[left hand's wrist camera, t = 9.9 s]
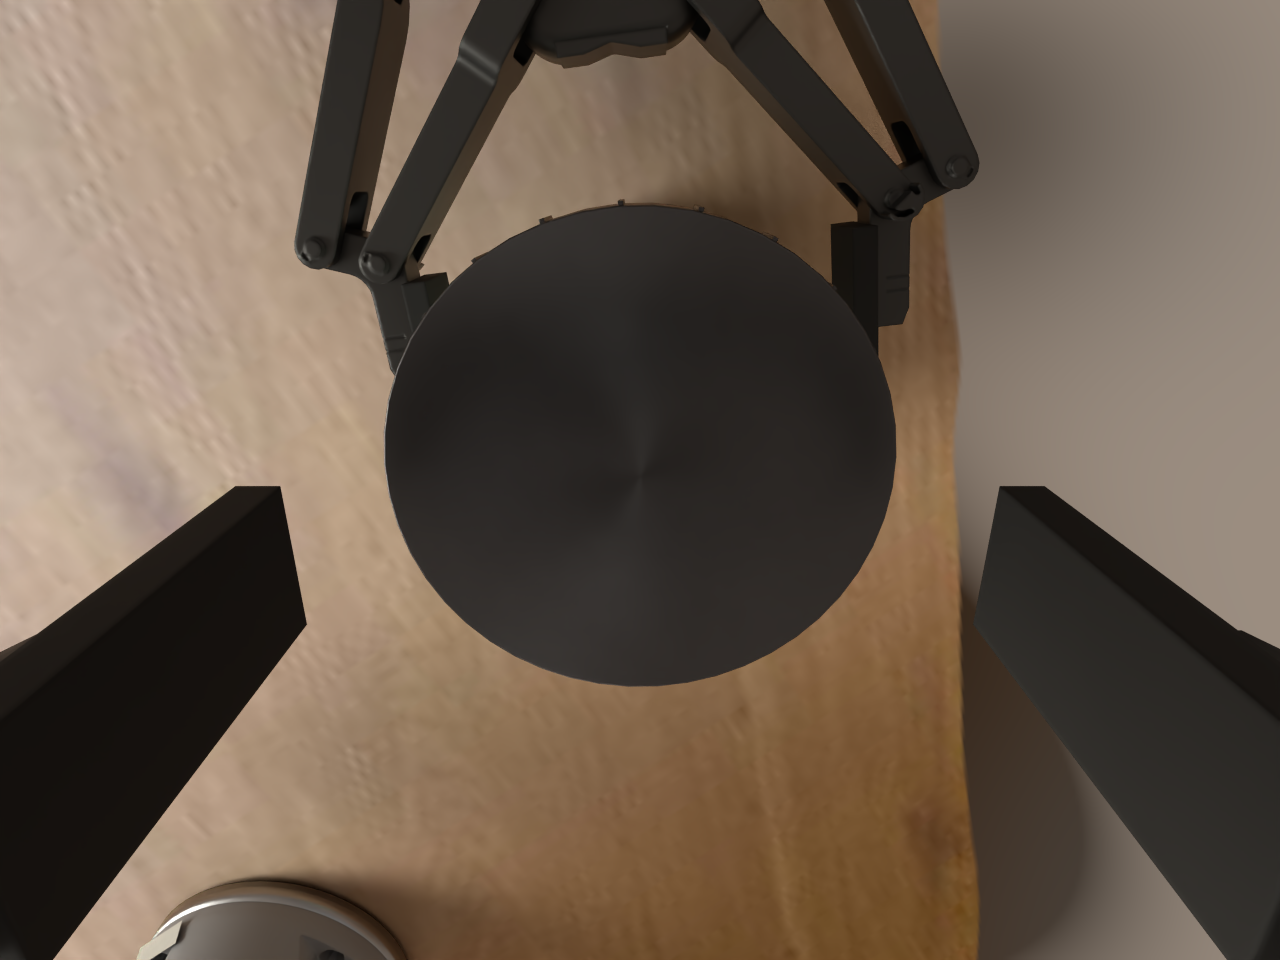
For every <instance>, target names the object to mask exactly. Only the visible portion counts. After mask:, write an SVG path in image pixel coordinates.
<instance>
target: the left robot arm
mask: <svg viewBox="0 0 1280 960" xmlns="http://www.w3.org/2000/svg"><path fill="white" fill-rule="evenodd" d="M306 625H307V623H306V617H305V612H304V607H303V602H302V597H301V591H300V586H299V581H298V576H297V571H296V565H295V560H294V555H293V550H292V545H291V540H290V534H289V529H288V524H287V519H286V514H285V508H284V503H283V498H282V493H281V488H280V486H235V487H234V488H232V489H231V490H230V491H228V492H227V493H226V494H224V495H223V496H222V497H220V498H219V499H218V500H216V501H215V502H214V503H212V504H211V505H210V506H208V507H207V508H206V509H204V510H203V511H202V512H200V513H199V514H198V515H196V516H195V517H194V518H192V519H191V520H190V521H188V522H187V523H186V524H184V525H183V526H182V527H180V528H179V529H177V530H176V531H175V532H173V533H172V534H171V535H169V536H168V537H167V538H165V539H164V540H163V541H161V542H160V543H159V544H157V545H156V546H155V547H153V548H152V549H151V550H149V551H148V552H147V553H145V554H144V555H143V556H141V557H140V558H139V559H137V560H136V561H135V562H133V563H132V564H131V565H129V566H128V567H127V568H125V569H124V570H123V571H121V572H120V573H119V574H117V575H116V576H114V577H113V578H112V579H110V580H109V581H108V582H106V583H105V584H104V585H102V586H101V587H100V588H98V589H97V590H96V591H94V592H93V593H92V594H90V595H89V596H88V597H86V598H85V599H84V600H82V601H81V602H80V603H78V604H77V605H76V606H74V607H73V608H72V609H70V610H69V611H68V612H66V613H65V614H64V615H62V616H61V617H60V618H58V619H57V620H56V621H54V622H53V623H51V624H50V625H49V626H47V627H46V628H45V629H43V630H42V631H41V632H39V633H38V634H36V635H34V636H32V637H30V638H28V639H26V640H24V641H22V642H20V643H18V644H16V645H14V646H12V647H10V648H8V649H6V650H4V651H2V652H0V960H53V959H54V958H55V956H56V955H57V954H58V952H59V951H60V950H61V948H62V947H63V946H64V944H65V943H66V942H67V941H68V939H69V938H70V937H71V935H72V934H73V933H74V931H75V930H76V929H77V927H78V926H79V925H80V923H81V922H82V921H83V919H84V918H85V917H86V915H87V914H88V913H89V911H90V910H91V909H92V907H93V906H94V905H95V904H96V902H97V901H98V900H99V898H100V897H101V896H102V894H103V893H104V892H105V890H106V889H107V888H108V886H109V885H110V884H111V882H112V881H113V880H114V878H115V877H116V876H117V874H118V873H119V872H120V871H121V869H122V868H123V867H124V865H125V864H126V863H127V861H128V860H129V859H130V857H131V856H132V855H133V853H134V852H135V851H136V849H137V848H138V847H139V845H140V844H141V843H142V841H143V840H144V839H145V838H146V836H147V835H148V834H149V832H150V831H151V830H152V828H153V827H154V826H155V824H156V823H157V822H158V820H159V819H160V818H161V816H162V815H163V814H164V812H165V811H166V810H167V808H168V807H169V806H170V804H171V803H172V802H173V801H174V799H175V798H176V797H177V795H178V794H179V793H180V791H181V790H182V789H183V787H184V786H185V785H186V783H187V782H188V781H189V779H190V778H191V777H192V775H193V774H194V773H195V771H196V770H197V769H198V768H199V766H200V765H201V764H202V762H203V761H204V760H205V758H206V757H207V756H208V754H209V753H210V752H211V750H212V749H213V748H214V746H215V745H216V744H217V742H218V741H219V740H220V738H221V737H222V736H223V735H224V733H225V732H226V731H227V729H228V728H229V727H230V725H231V724H232V723H233V721H234V720H235V719H236V717H237V716H238V715H239V713H240V712H241V711H242V709H243V708H244V707H245V705H246V704H247V703H248V701H249V700H250V699H251V698H252V696H253V695H254V694H255V692H256V691H257V690H258V688H259V687H260V686H261V684H262V683H263V682H264V680H265V679H266V678H267V676H268V675H269V674H270V672H271V671H272V670H273V668H274V667H275V666H276V665H277V663H278V662H279V661H280V659H281V658H282V657H283V655H284V654H285V653H286V651H287V650H288V649H289V647H290V646H291V645H292V643H293V642H294V641H295V639H296V638H297V637H298V635H299V634H300V633H301V632H302V630H303V629H304V628H305V626H306ZM973 625H974V626H975V628H976V629H977V630H978V631H979V633H980V634H981V635H982V637H983V638H984V639H985V641H986V642H987V643H988V645H989V646H990V647H991V649H992V650H993V651H994V653H995V654H996V655H997V657H998V658H999V659H1000V661H1001V662H1002V663H1003V664H1004V666H1005V667H1006V668H1007V670H1008V671H1009V672H1010V674H1011V675H1012V676H1013V678H1014V679H1015V680H1016V682H1017V683H1018V684H1019V686H1020V687H1021V688H1022V690H1023V691H1024V692H1025V694H1026V695H1027V696H1028V697H1029V699H1030V700H1031V701H1032V703H1033V704H1034V705H1035V707H1036V708H1037V709H1038V711H1039V712H1040V713H1041V715H1042V716H1043V717H1044V719H1045V720H1046V721H1047V723H1048V724H1049V725H1050V727H1051V728H1052V729H1053V731H1054V732H1055V733H1056V735H1057V736H1058V737H1059V738H1060V740H1061V741H1062V742H1063V744H1064V745H1065V746H1066V748H1067V749H1068V750H1069V752H1070V753H1071V754H1072V756H1073V757H1074V758H1075V760H1076V761H1077V762H1078V764H1079V765H1080V766H1081V768H1082V769H1083V770H1084V771H1085V773H1086V774H1087V775H1088V777H1089V778H1090V779H1091V781H1092V782H1093V783H1094V785H1095V786H1096V787H1097V789H1098V790H1099V791H1100V793H1101V794H1102V795H1103V797H1104V798H1105V799H1106V801H1107V802H1108V803H1109V804H1110V806H1111V807H1112V808H1113V810H1114V811H1115V812H1116V814H1117V815H1118V816H1119V818H1120V819H1121V820H1122V822H1123V823H1124V824H1125V826H1126V827H1127V828H1128V830H1129V831H1130V832H1131V834H1132V835H1133V836H1134V837H1135V839H1136V840H1137V841H1138V843H1139V844H1140V845H1141V847H1142V848H1143V849H1144V851H1145V852H1146V853H1147V855H1148V856H1149V857H1150V859H1151V860H1152V861H1153V863H1154V864H1155V865H1156V867H1157V868H1158V869H1159V871H1160V872H1161V873H1162V874H1163V876H1164V877H1165V878H1166V880H1167V881H1168V882H1169V884H1170V885H1171V886H1172V888H1173V889H1174V890H1175V892H1176V893H1177V894H1178V896H1179V897H1180V898H1181V900H1182V901H1183V902H1184V904H1185V905H1186V906H1187V907H1188V909H1189V910H1190V911H1191V913H1192V914H1193V915H1194V917H1195V918H1196V919H1197V921H1198V922H1199V923H1200V925H1201V926H1202V927H1203V929H1204V930H1205V931H1206V933H1207V934H1208V935H1209V937H1210V938H1211V939H1212V940H1213V942H1214V943H1215V944H1216V946H1217V947H1218V948H1219V950H1220V951H1221V952H1222V954H1223V955H1224V956H1225V958H1226V959H1227V960H1280V649H1279V648H1277V647H1275V646H1273V645H1271V644H1269V643H1266V642H1264V641H1262V640H1260V639H1258V638H1256V637H1254V636H1252V635H1250V634H1248V633H1246V632H1244V631H1241V630H1240V631H1239V630H1237V629H1235V628H1234V627H1233V626H1231V625H1230V624H1229V623H1227V622H1226V621H1224V620H1223V619H1222V618H1220V617H1219V616H1218V615H1216V614H1215V613H1214V612H1212V611H1211V610H1210V609H1208V608H1207V607H1206V606H1204V605H1203V604H1202V603H1200V602H1199V601H1198V600H1196V599H1195V598H1194V597H1192V596H1191V595H1190V594H1188V593H1187V592H1186V591H1184V590H1183V589H1182V588H1180V587H1179V586H1178V585H1176V584H1175V583H1174V582H1172V581H1171V580H1170V579H1168V578H1167V577H1165V576H1164V575H1163V574H1161V573H1160V572H1159V571H1157V570H1156V569H1155V568H1153V567H1152V566H1151V565H1149V564H1148V563H1147V562H1145V561H1144V560H1143V559H1141V558H1140V557H1139V556H1137V555H1136V554H1135V553H1133V552H1132V551H1131V550H1129V549H1128V548H1127V547H1125V546H1124V545H1123V544H1121V543H1120V542H1119V541H1117V540H1116V539H1115V538H1113V537H1112V536H1111V535H1109V534H1108V533H1107V532H1105V531H1104V530H1103V529H1101V528H1100V527H1098V526H1097V525H1096V524H1094V523H1093V522H1092V521H1090V520H1089V519H1088V518H1086V517H1085V516H1084V515H1082V514H1081V513H1080V512H1078V511H1077V510H1076V509H1074V508H1073V507H1072V506H1070V505H1069V504H1068V503H1066V502H1065V501H1064V500H1062V499H1061V498H1060V497H1058V496H1057V495H1056V494H1054V493H1053V492H1052V491H1050V490H1049V489H1047V488H1046V487H1045V486H1000V488H999V493H998V498H997V503H996V508H995V514H994V519H993V524H992V529H991V534H990V540H989V545H988V550H987V555H986V560H985V565H984V571H983V576H982V581H981V586H980V591H979V597H978V602H977V607H976V612H975V617H974V623H973ZM136 960H406V957H405V955H404V953H403V951H402V949H401V948H400V946H399V945H398V943H397V942H396V940H395V939H394V938H393V937H392V935H391V934H390V933H389V932H388V931H387V930H386V929H385V928H384V927H383V926H382V925H381V924H380V923H379V922H377V921H376V920H375V919H374V918H372V917H371V916H370V915H368V914H367V913H365V912H364V911H362V910H361V909H359V908H358V907H356V906H354V905H352V904H350V903H349V902H347V901H345V900H342V899H340V898H338V897H336V896H333V895H331V894H328V893H325V892H323V891H319V890H316V889H313V888H309V887H305V886H300V885H295V884H289V883H282V882H271V881H252V882H239V883H232V884H227V885H222V886H218V887H215V888H211V889H208V890H206V891H203V892H201V893H198V894H196V895H194V896H192V897H191V898H189V899H187V900H186V901H184V902H183V903H181V904H180V905H178V906H177V907H176V908H175V909H174V910H173V911H172V912H171V913H170V914H169V915H168V916H167V917H166V919H165V920H164V922H163V923H162V925H161V926H160V928H159V929H158V931H157V932H156V934H155V935H154V937H153V938H152V940H151V941H150V942H148V943H147V944H145V945H144V946H142V947H141V948H140V950H139V953H138V956H137V959H136Z"/></svg>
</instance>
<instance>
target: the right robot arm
mask: <svg viewBox="0 0 1280 960" xmlns="http://www.w3.org/2000/svg"><path fill="white" fill-rule="evenodd" d="M824 1H825V3H826V5H827V7H828V9H829V11H830V13H831V15H832V18H833V20H834V22H835V24H836V26H837V28H838V30H839V32H840V34H841V36H842V38H843V40H844V42H845V44H846V46H847V48H848V51H849V53H850V55H851V57H852V59H853V61H854V63H855V65H856V67H857V69H858V71H859V73H860V75H861V77H862V79H863V81H864V84H865V86H866V88H867V90H868V92H869V94H870V96H871V98H872V100H873V102H874V104H875V106H876V108H877V110H878V112H879V114H880V116H881V119H882V121H883V123H884V125H885V127H886V129H887V131H888V133H889V135H890V137H891V139H892V141H893V143H894V145H895V147H896V149H897V152H898V154H899V156H900V158H901V160H902V162H903V163H901V164H899V165H896V164H895V163H894V162H893V161H892V159H891V158H890V157H889V156H888V155H887V154H886V153H885V151H884V150H883V149H882V148H881V147H880V146H879V145H878V143H877V142H876V141H875V140H874V139H873V138H872V137H871V135H870V134H869V133H868V132H867V131H866V130H865V129H864V127H863V126H862V125H861V124H860V123H859V122H858V121H857V119H856V118H855V117H854V116H853V115H852V114H851V113H850V111H849V110H848V109H847V108H846V107H845V106H844V104H843V103H842V102H841V101H840V100H839V99H838V98H837V96H836V95H835V94H834V93H833V92H832V91H831V90H830V88H829V87H828V86H827V85H826V84H825V83H824V82H823V80H822V79H821V78H820V77H819V76H818V75H817V74H816V72H815V71H814V70H813V69H812V68H811V67H810V66H809V64H808V63H807V62H806V61H805V60H804V59H803V58H802V56H801V55H800V54H799V53H798V52H797V51H796V50H795V48H794V47H793V46H792V45H791V44H790V43H789V42H788V40H787V39H786V38H785V37H784V36H783V35H782V34H781V32H780V31H779V30H778V29H777V28H776V27H775V25H774V24H773V23H772V22H771V21H770V20H769V18H768V17H767V16H766V14H765V12H764V10H763V8H762V5H761V4H760V2H759V1H758V0H481V1H480V3H479V5H478V7H477V9H476V11H475V13H474V15H473V17H472V19H471V21H470V23H469V25H468V27H467V29H466V31H465V33H464V35H463V38H462V40H461V43H460V46H459V53H458V58H457V60H456V63H455V65H454V67H453V69H452V71H451V73H450V75H449V77H448V79H447V81H446V83H445V85H444V87H443V89H442V91H441V93H440V95H439V97H438V99H437V101H436V103H435V105H434V107H433V109H432V111H431V113H430V115H429V117H428V119H427V121H426V123H425V125H424V127H423V129H422V131H421V133H420V135H419V137H418V139H417V140H416V142H415V144H414V146H413V148H412V150H411V152H410V154H409V156H408V158H407V160H406V162H405V164H404V166H403V168H402V170H401V172H400V174H399V176H398V178H397V180H396V182H395V184H394V186H393V188H392V190H391V192H390V194H389V196H388V198H387V200H386V202H385V204H384V206H383V208H382V210H381V212H380V214H379V216H378V218H377V220H376V222H375V224H374V226H373V228H372V230H371V232H367V231H366V229H367V224H368V219H369V215H370V210H371V205H372V200H373V196H374V191H375V186H376V182H377V177H378V172H379V167H380V163H381V158H382V153H383V148H384V144H385V139H386V134H387V129H388V125H389V120H390V115H391V111H392V106H393V101H394V96H395V92H396V87H397V82H398V77H399V73H400V68H401V63H402V58H403V54H404V49H405V44H406V39H407V32H408V26H409V10H410V3H409V0H338V1H337V6H336V12H335V17H334V23H333V29H332V34H331V40H330V45H329V51H328V57H327V62H326V68H325V73H324V79H323V85H322V90H321V96H320V101H319V107H318V113H317V118H316V124H315V129H314V135H313V141H312V146H311V152H310V157H309V163H308V169H307V174H306V180H305V185H304V191H303V197H302V202H301V208H300V213H299V219H298V225H297V230H296V236H295V241H294V244H295V252H296V254H297V257H298V258H299V260H300V261H301V262H302V263H303V264H304V265H306V266H308V267H309V268H312V269H322V268H325V269H329V270H333V271H338V272H342V273H346V274H350V275H353V276H356V277H358V278H359V279H361V280H362V281H363V282H364V283H365V284H366V285H367V286H368V288H369V289H370V291H371V294H372V297H373V300H374V305H375V309H376V313H377V317H378V321H379V325H380V329H381V333H382V337H383V339H384V345H385V349H386V351H387V357H388V361H389V365H390V369H391V371H392V372H393V374H394V375H395V374H396V370H397V367H398V365H399V363H400V361H401V358H402V356H403V354H404V352H405V349H406V347H407V345H408V343H409V340H410V338H411V336H412V335H413V333H414V332H415V330H416V329H417V327H418V325H419V324H420V322H421V321H422V316H423V314H425V313H426V312H427V311H428V310H429V308H430V307H431V306H432V305H433V303H434V302H435V301H436V300H437V299H438V298H439V296H440V295H441V294H442V293H443V292H444V291H445V289H446V288H447V287H448V286H449V282H448V277H447V273H446V272H444V273H436V274H428V275H423V276H421V277H420V273H419V270H420V269H421V268H422V267H423V266H424V264H423V263H421V261H422V259H423V257H424V256H425V254H426V252H427V250H428V248H429V246H430V244H431V242H432V241H433V239H434V237H435V235H436V233H437V231H438V229H439V227H440V225H441V224H442V222H443V220H444V218H445V216H446V214H447V212H448V210H449V209H450V207H451V205H452V203H453V201H454V199H455V197H456V195H457V194H458V192H459V190H460V188H461V186H462V184H463V182H464V180H465V179H466V177H467V175H468V173H469V171H470V169H471V167H472V165H473V164H474V162H475V160H476V158H477V156H478V154H479V152H480V150H481V148H482V147H483V145H484V143H485V141H486V139H487V137H488V135H489V133H490V132H491V130H492V128H493V126H494V124H495V122H496V120H497V118H498V117H499V115H500V113H501V111H502V109H503V107H504V105H505V103H506V102H507V100H508V98H509V96H510V95H511V93H512V92H513V91H514V90H515V89H516V88H517V86H518V85H519V83H520V82H521V80H522V78H523V76H524V74H525V73H526V71H527V69H528V67H529V65H530V63H531V61H532V59H533V58H534V56H535V54H537V55H538V56H540V57H541V58H543V59H545V60H547V61H549V62H552V63H555V64H559V65H562V67H563V68H564V69H565V68H572V67H579V66H587V65H590V64H592V63H595V62H597V61H599V60H601V59H603V58H605V57H608V56H610V55H612V54H618V55H624V56H630V57H636V58H646V57H653V56H660V55H666V51H667V50H669V49H671V48H673V47H674V46H676V45H677V44H679V43H680V42H681V41H682V40H683V39H684V38H685V37H686V36H687V35H688V34H689V32H690V33H691V34H692V35H693V36H694V37H695V38H696V39H697V40H698V41H699V42H700V43H701V45H702V46H703V47H704V48H705V49H706V50H707V51H708V52H709V53H710V54H711V55H712V56H713V57H714V58H715V59H716V60H717V61H718V62H720V63H721V64H723V65H724V66H725V67H726V68H727V69H728V70H729V71H730V72H731V73H732V74H733V75H734V77H735V78H736V79H737V80H738V81H739V82H740V83H741V84H742V85H743V86H744V87H745V89H746V90H747V91H748V92H749V93H750V94H751V95H752V96H753V97H754V98H755V100H756V101H757V102H758V103H759V104H760V105H761V106H762V107H763V108H764V109H765V111H766V112H767V113H768V114H769V115H770V116H771V117H772V118H773V119H774V120H775V122H776V123H777V124H778V125H779V126H780V127H781V128H782V129H783V130H784V131H785V133H786V134H787V135H788V136H789V137H790V138H791V139H792V140H793V141H794V142H795V144H796V145H797V146H798V147H799V148H800V149H801V150H802V151H803V152H804V153H805V154H806V156H807V157H808V158H809V159H810V160H811V161H812V162H813V163H814V164H815V165H816V167H817V168H818V169H819V170H820V171H821V172H822V173H823V174H824V175H825V176H826V178H827V179H828V180H829V181H830V182H831V183H832V184H833V185H834V186H835V187H836V189H837V190H838V191H839V192H840V193H841V194H842V195H843V196H844V197H845V198H846V200H847V201H848V202H849V203H850V204H851V205H852V206H853V207H854V208H855V209H856V211H857V216H858V222H854V221H853V222H845V223H837V224H831V258H832V284H833V285H834V286H835V287H836V288H837V290H836V292H837V293H838V294H839V295H840V296H841V297H842V298H843V299H844V301H845V302H846V303H847V304H848V306H849V307H850V309H851V310H852V312H853V313H854V315H855V316H856V318H857V319H858V321H859V322H860V323H861V325H862V326H863V328H864V329H865V331H866V333H867V335H868V337H869V339H870V341H871V343H872V345H873V347H874V348H875V350H876V354H877V356H878V327H881V326H890V325H898V324H903V321H904V319H905V316H906V314H907V311H908V308H909V267H910V226H911V222H912V219H913V218H914V217H915V216H916V215H918V213H919V212H920V211H921V209H922V208H923V205H924V204H926V203H927V202H929V201H931V200H933V199H935V198H937V197H939V196H941V195H943V194H945V193H947V192H949V191H951V190H953V189H960V188H962V187H965V186H967V185H968V184H969V183H970V182H971V181H973V180H974V178H975V176H976V174H977V172H978V168H979V159H978V154H977V152H976V150H975V148H974V145H973V143H972V141H971V139H970V137H969V134H968V132H967V130H966V128H965V125H964V123H963V121H962V119H961V116H960V114H959V112H958V110H957V108H956V106H955V103H954V101H953V99H952V96H951V94H950V92H949V90H948V88H947V85H946V83H945V81H944V79H943V76H942V74H941V72H940V70H939V67H938V65H937V63H936V61H935V59H934V56H933V54H932V52H931V50H930V47H929V45H928V43H927V41H926V39H925V36H924V34H923V32H922V30H921V27H920V25H919V23H918V21H917V19H916V16H915V14H914V12H913V10H912V7H911V5H910V3H909V1H908V0H824Z"/></svg>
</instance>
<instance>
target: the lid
mask: <svg viewBox="0 0 1280 960" xmlns="http://www.w3.org/2000/svg"><path fill="white" fill-rule="evenodd" d="M539 222H540V224H539V225H537V226H535V227H533V228H531V229H528V230H526V231H524V232H522V233H520V234H518V235H516V236H513V237H511V238H509V239H508V240H506V241H505V242H503V243H502V244H500V245H498V246H497V247H495V248H494V249H492V250H491V251H489V252H487V253H484V254H482V255H480V256H478V257H475V258H474V259H473V260H471V261H472V263H473V264H472V265H471V266H469V267H468V268H467V269H466V270H465V271H464V272H463V273H462V274H460V275H459V276H458V277H457V278H456V279H455V280H454V281H452V282H451V284H450V285H449V286H448V287H447V288H446V289H445V291H444V292H443V293H442V294H441V295H440V296H439V298H438V299H437V300H436V301H435V302H434V303H433V305H432V306H431V307H430V308H429V310H428V311H427V312H426V313H425V314H423V316H422V321H421V322H420V324H419V325H418V327H417V329H416V330H415V332H414V333H413V335H412V336H411V338H410V340H409V343H408V345H407V347H406V349H405V352H404V354H403V356H402V358H401V361H400V363H399V365H398V367H397V370H396V374H395V378H394V381H393V385H392V388H391V392H390V395H389V399H388V405H387V413H386V420H385V428H384V466H385V472H386V479H387V485H388V492H389V497H390V500H391V504H392V507H393V510H394V514H395V517H396V521H397V524H398V527H399V529H400V531H401V533H402V536H403V538H404V540H405V542H406V545H407V547H408V549H409V551H410V553H411V555H412V557H413V558H414V560H415V561H416V563H417V565H418V566H419V568H420V570H421V571H422V573H423V575H424V576H425V578H426V579H427V581H428V582H429V583H430V584H431V586H432V587H433V588H434V589H435V591H436V592H437V593H438V594H439V596H440V597H441V598H442V599H443V601H444V602H445V603H446V604H447V605H448V606H449V607H450V608H451V609H452V610H453V611H454V612H455V613H456V614H457V615H458V616H459V617H460V618H462V619H463V620H464V621H465V622H466V623H467V624H468V625H469V626H471V627H472V628H473V629H475V630H476V631H477V632H478V633H480V634H481V635H482V636H484V637H485V638H486V639H488V640H489V641H490V642H492V643H494V644H495V645H497V646H499V647H500V648H502V649H504V650H505V651H507V652H509V653H510V654H512V655H514V656H516V657H518V658H520V659H522V660H524V661H527V662H529V663H531V664H533V665H535V666H538V667H540V668H542V669H545V670H548V671H551V672H554V673H557V674H560V675H563V676H566V677H570V678H574V679H579V680H584V681H588V682H593V683H598V684H607V685H617V686H628V687H635V686H664V685H672V684H681V683H688V682H692V681H697V680H701V679H705V678H710V677H714V676H717V675H720V674H723V673H726V672H729V671H732V670H734V669H737V668H740V667H743V666H745V665H747V664H749V663H752V662H754V661H756V660H758V659H760V658H762V657H764V656H766V655H768V654H770V653H772V652H773V651H775V650H777V649H778V648H780V647H781V646H783V645H784V644H786V643H788V642H789V641H791V640H792V639H794V638H795V637H797V636H798V635H799V634H800V633H802V632H803V631H804V630H805V629H807V628H808V627H809V626H810V625H812V624H813V623H814V622H815V621H816V620H818V619H819V618H820V617H821V616H822V615H823V614H824V613H825V612H826V611H827V610H828V609H829V608H830V607H831V606H832V605H833V603H834V602H835V601H836V600H837V599H838V598H839V597H840V596H841V595H842V593H843V592H844V591H845V589H846V588H847V587H848V585H849V584H850V583H851V581H852V580H853V579H854V577H855V576H856V575H857V573H858V572H859V570H860V568H861V567H862V565H863V563H864V561H865V560H866V558H867V556H868V554H869V553H870V551H871V549H872V547H873V545H874V543H875V540H876V538H877V536H878V533H879V531H880V528H881V526H882V523H883V521H884V519H885V515H886V511H887V507H888V503H889V500H890V496H891V492H892V488H893V480H894V471H895V463H896V425H895V418H894V412H893V406H892V400H891V394H890V390H889V387H888V384H887V381H886V378H885V375H884V371H883V368H882V365H881V362H880V360H879V358H878V356H877V354H876V350H875V348H874V347H873V345H872V343H871V341H870V339H869V337H868V335H867V333H866V331H865V329H864V328H863V326H862V325H861V323H860V322H859V321H858V319H857V318H856V316H855V315H854V313H853V312H852V310H851V309H850V307H849V306H848V304H847V303H846V302H845V301H844V299H843V298H842V297H841V296H840V295H839V294H838V293H837V292H836V290H837V288H836V287H835V286H834V285H833V284H831V283H829V282H827V281H826V280H825V279H824V277H823V276H821V275H820V274H819V273H818V272H817V271H815V270H814V269H813V268H812V267H810V266H809V265H808V264H807V263H806V262H804V261H803V260H802V259H801V258H800V257H798V256H797V255H796V254H795V253H793V252H791V251H790V250H788V249H786V248H785V247H783V246H781V245H780V244H778V243H777V240H778V238H776V237H775V236H772V235H770V234H767V233H765V232H763V233H762V234H761V233H759V232H756V231H754V230H752V229H749V228H747V227H745V226H742V225H740V224H738V223H735V222H733V221H731V220H728V219H726V218H723V217H721V216H718V215H714V214H710V213H707V212H704V208H703V207H701V206H697V205H694V209H692V208H688V207H682V206H674V205H666V204H658V203H625V200H624V199H620V200H619V201H618V204H613V205H606V206H600V207H594V208H587V209H583V210H580V211H577V212H573V213H570V214H567V215H564V216H560V217H557V218H554V219H553V218H552V216H548V217H545V218H542V219H540V220H539Z"/></svg>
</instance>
